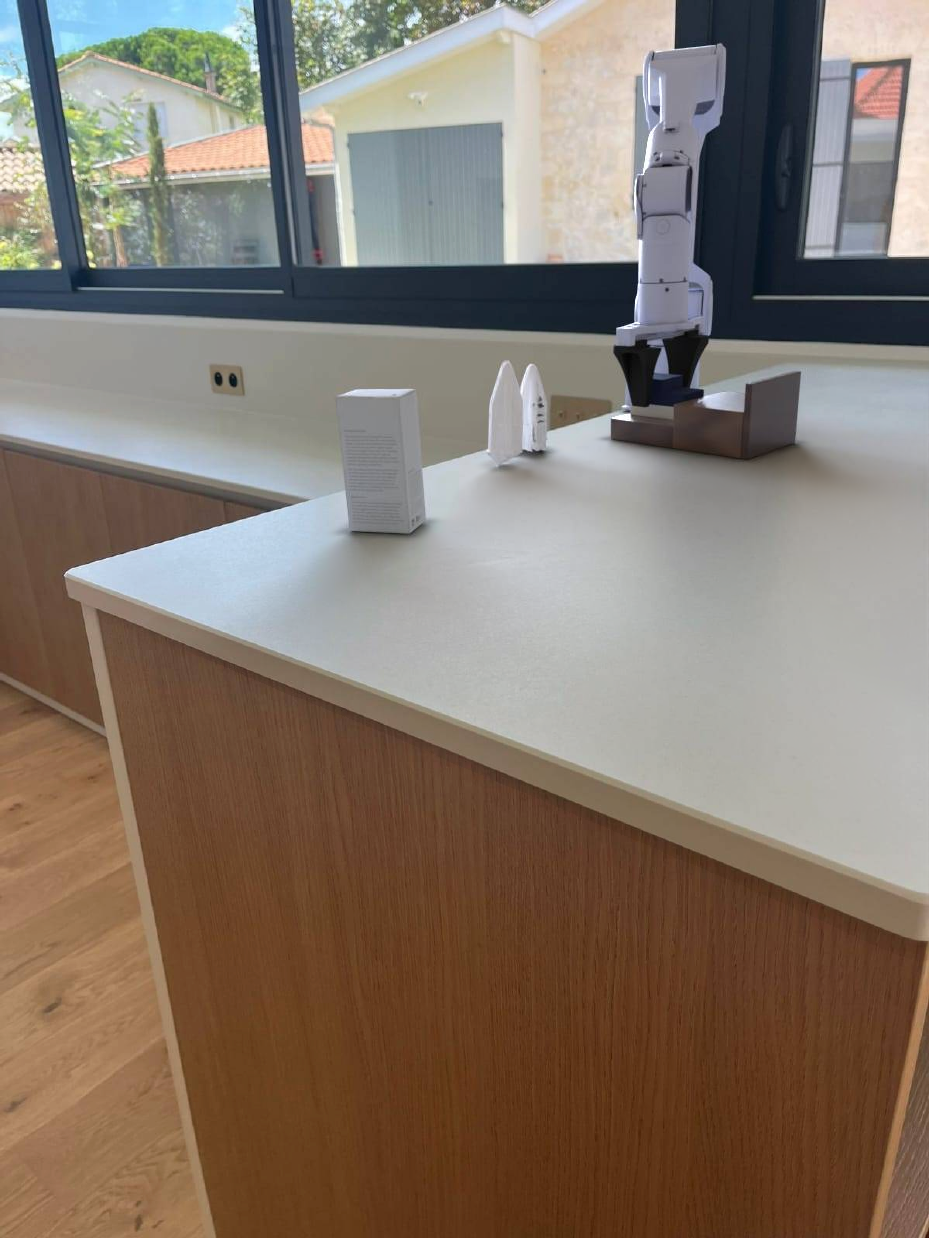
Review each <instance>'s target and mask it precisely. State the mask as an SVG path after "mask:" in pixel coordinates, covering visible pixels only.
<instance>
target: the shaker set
mask: <svg viewBox="0 0 929 1238" xmlns="http://www.w3.org/2000/svg"><path fill="white" fill-rule="evenodd" d="M521 381H522V382H521V384H520V386H519V382H518V379H517V376H516V373H515V370H514V366H513V365H512V363H511V361H510V360H504V361H502V363H501V366H500V368H499V372H498V374H497V378H496V380H495V384H494V386H493V390H492V394H491V397H490V400H489V407H488V409H489V410H488V434H487V435H488V441H487V443H488V444H487V450H486V455H487V456H488V457H489V458H490V459H491V460H492V461H493V462H494V463H495V464H496V465H497V466H501V465H502V464H504V463H506V462H508V461H509V460H511V459H513V458H515V457H517V456H519V455H520V454H522V453H523V452H524V450H525V451H527V452H534V451H535V452H540V451H547V440H548V438H547V433H548V400H547V397H546V393H545V388H544V385H543V382H542V378H541V375H540V372H539V370H538V368H537V366H536V364H535V363H529V364H528V365H527V367H526V369H525V372H524V376H523V378H522V380H521Z"/></svg>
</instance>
